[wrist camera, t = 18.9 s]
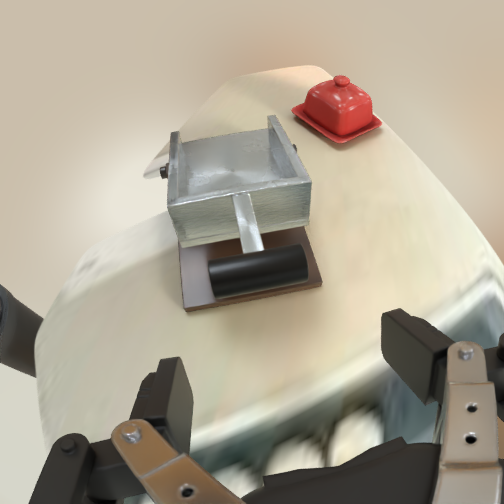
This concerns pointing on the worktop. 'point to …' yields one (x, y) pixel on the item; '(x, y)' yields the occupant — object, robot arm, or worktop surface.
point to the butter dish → (338, 110)
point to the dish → (241, 205)
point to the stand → (197, 257)
